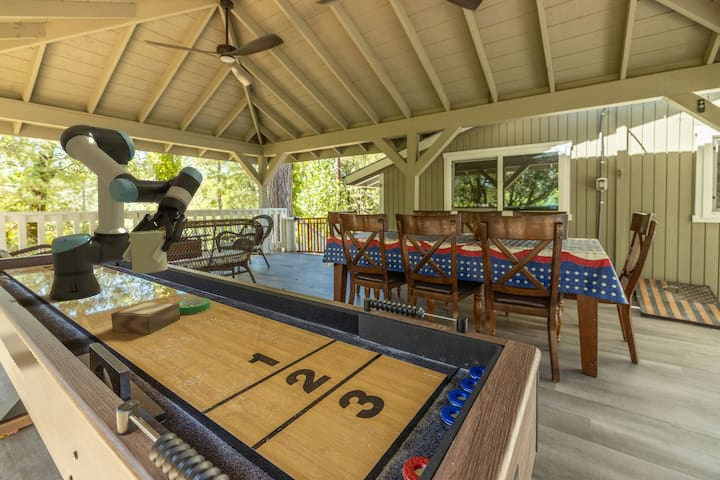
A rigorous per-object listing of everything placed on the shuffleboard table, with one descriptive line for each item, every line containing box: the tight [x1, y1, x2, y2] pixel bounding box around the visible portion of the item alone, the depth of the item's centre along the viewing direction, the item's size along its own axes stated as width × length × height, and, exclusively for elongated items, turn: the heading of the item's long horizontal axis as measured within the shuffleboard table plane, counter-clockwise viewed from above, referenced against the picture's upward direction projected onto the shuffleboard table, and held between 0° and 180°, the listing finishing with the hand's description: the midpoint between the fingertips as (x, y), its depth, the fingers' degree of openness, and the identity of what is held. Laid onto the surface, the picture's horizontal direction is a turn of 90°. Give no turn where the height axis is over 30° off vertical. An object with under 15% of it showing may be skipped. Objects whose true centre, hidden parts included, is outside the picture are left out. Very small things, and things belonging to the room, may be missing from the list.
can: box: [128, 230, 169, 274], centre depth 101 cm, size 9×9×12 cm
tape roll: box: [175, 297, 211, 315], centre depth 115 cm, size 11×11×3 cm
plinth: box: [110, 301, 181, 335], centre depth 100 cm, size 12×12×5 cm
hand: (140, 259), depth 98 cm, fingers closed on can, 9 cm apart
